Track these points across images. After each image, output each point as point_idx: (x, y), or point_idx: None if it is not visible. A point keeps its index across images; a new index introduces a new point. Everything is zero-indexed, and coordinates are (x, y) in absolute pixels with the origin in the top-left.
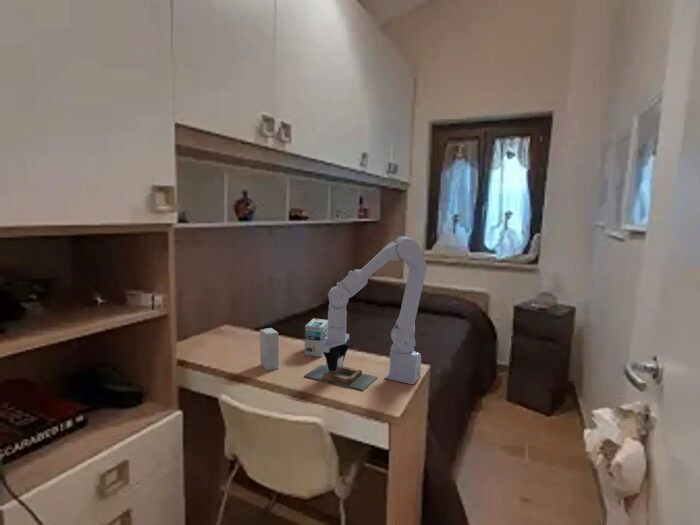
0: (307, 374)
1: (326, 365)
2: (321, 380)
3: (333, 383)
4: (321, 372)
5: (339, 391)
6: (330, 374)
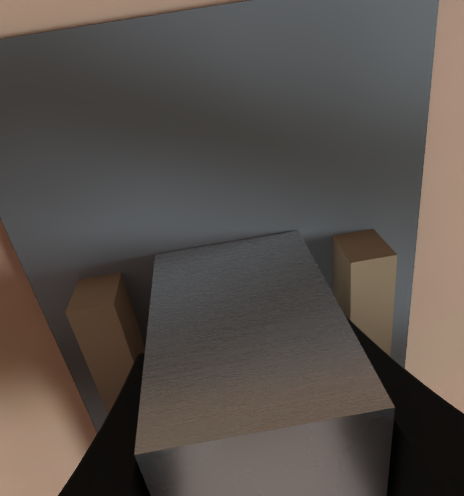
0: (2, 64)
1: (150, 341)
2: (37, 288)
3: (82, 387)
4: (197, 166)
5: (17, 472)
6: (111, 373)
